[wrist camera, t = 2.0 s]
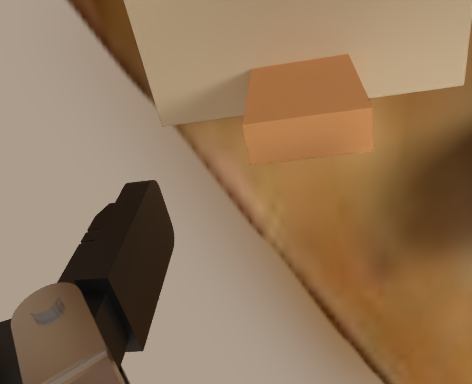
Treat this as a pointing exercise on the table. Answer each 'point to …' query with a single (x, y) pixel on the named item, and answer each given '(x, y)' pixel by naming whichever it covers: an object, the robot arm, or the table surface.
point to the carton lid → (296, 65)
